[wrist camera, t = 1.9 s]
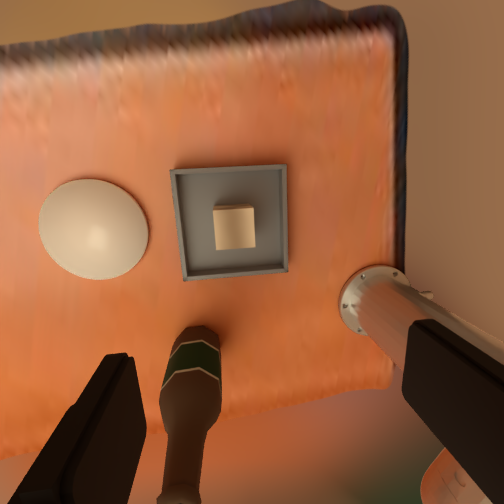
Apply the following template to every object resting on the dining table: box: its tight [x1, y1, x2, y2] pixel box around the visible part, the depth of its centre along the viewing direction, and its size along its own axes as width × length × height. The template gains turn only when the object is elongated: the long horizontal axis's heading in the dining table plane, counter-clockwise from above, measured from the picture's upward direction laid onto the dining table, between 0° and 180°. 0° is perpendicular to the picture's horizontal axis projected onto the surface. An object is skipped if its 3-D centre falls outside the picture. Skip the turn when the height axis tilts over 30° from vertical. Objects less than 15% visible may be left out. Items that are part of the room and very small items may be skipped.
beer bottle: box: [157, 326, 222, 504], centre depth 34 cm, size 8×8×24 cm
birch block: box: [213, 203, 255, 250], centre depth 38 cm, size 5×5×6 cm
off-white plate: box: [38, 179, 149, 280], centre depth 39 cm, size 14×14×1 cm
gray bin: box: [170, 164, 288, 281], centre depth 40 cm, size 15×15×3 cm
